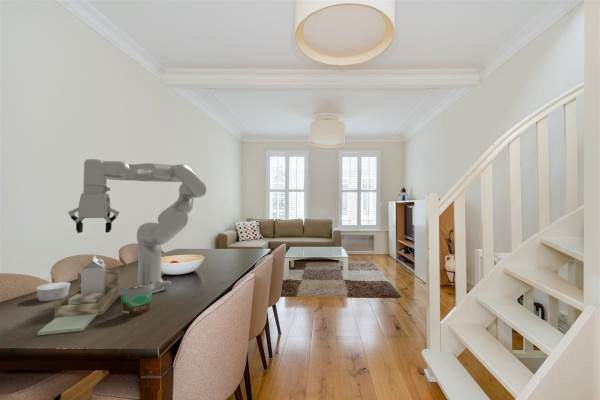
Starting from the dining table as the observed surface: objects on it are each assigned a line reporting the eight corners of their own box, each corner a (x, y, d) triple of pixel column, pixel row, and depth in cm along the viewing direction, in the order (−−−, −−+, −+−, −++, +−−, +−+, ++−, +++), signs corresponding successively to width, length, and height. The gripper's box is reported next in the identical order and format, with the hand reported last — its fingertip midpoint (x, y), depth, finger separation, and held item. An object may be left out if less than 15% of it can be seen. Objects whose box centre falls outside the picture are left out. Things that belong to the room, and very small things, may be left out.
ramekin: (49, 303, 115) (50, 290, 115) (28, 301, 117) (28, 288, 117) (76, 294, 126) (76, 282, 126) (56, 292, 128) (56, 281, 128)
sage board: (95, 316, 102) (95, 313, 102) (81, 330, 91) (81, 327, 91) (56, 320, 99) (56, 317, 99) (37, 335, 88) (37, 332, 88)
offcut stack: (103, 307, 112) (103, 291, 112) (96, 313, 106) (97, 297, 106) (73, 309, 109) (73, 294, 109) (64, 316, 103) (64, 299, 103)
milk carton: (80, 308, 110) (81, 259, 110) (84, 302, 117) (85, 255, 117) (102, 305, 114) (103, 257, 114) (105, 299, 120) (106, 254, 120)
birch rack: (118, 297, 123) (118, 269, 123) (101, 314, 104) (102, 281, 104) (78, 300, 118) (79, 271, 118) (54, 319, 100) (54, 284, 100)
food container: (127, 319, 100) (127, 291, 100) (118, 316, 103) (118, 288, 103) (160, 308, 110) (160, 283, 110) (151, 305, 114) (151, 280, 114)
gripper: (122, 191, 122) (121, 231, 121) (73, 189, 116) (72, 231, 116) (116, 190, 114) (115, 233, 114) (64, 189, 109) (63, 233, 109)
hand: (94, 232), depth 115 cm, fingers open, 9 cm apart
